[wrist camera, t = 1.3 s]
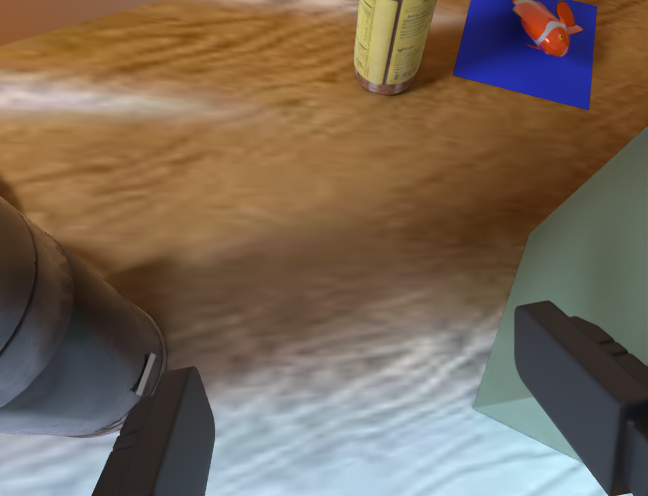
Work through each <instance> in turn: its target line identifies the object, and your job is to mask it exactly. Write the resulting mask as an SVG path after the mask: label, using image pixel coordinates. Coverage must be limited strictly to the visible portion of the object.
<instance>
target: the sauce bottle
mask: <svg viewBox="0 0 648 496" xmlns="http://www.w3.org/2000/svg"><path fill="white" fill-rule="evenodd" d="M436 1H437V0H359V6H358V18H357V29H356V40H355V50H354V66H355V73H356V76H357V79H358V81H359V82H360V84H361V85H362V86H363V88H366V89H367V90H369V91H372V92H375V93H377V94H381V95H394V94H397V93H401V92H403V91H404V90H406V89H408V88H409V87H410V85H411V84H412V82H413V80H414V78H415V76H416V72H417V71H418V69H419V66H420V62H421V58H422V54H423V51H424V47H425V43H426V39H427V36H428V32H429V28H430V24H431V21H432V17H433V13H434V9H435V5H436Z"/></svg>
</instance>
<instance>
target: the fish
mask: <svg viewBox="0 0 648 496" xmlns="http://www.w3.org/2000/svg"><path fill="white" fill-rule="evenodd" d="M510 1H511V3H512V5H513V6H512V12H513V14H514V15H515V16H516V17H517V19H518V21H519V23H520V25H521V27H522V29H523V30H524V32H525V33H526V35H527V36H528V37H529V38H530V40H531V41H532V42H533V43H534V44H529V43H525V44H523V45H522V46H523V47H526V48H529V49H533V50H537V51H540V52H544V53H545V54H546V55H549V56H552V57H555V58H563V57H565V56H566V55H567V54H568V52H569V50H570V47H571V36H574V35H577V34H579V33H582V32H584V31H585V29H584V28H583V27H582V26H580V25H578V24H576V19H575V16H574V13H573V11H572V9H571V7H570V5H569V4H568V3H567V2H566V1H565V0H558V1H557V2H556V4H555V7H554V13H553V12H551V11H550V9H549V8H548V7H547V6H546V5H545V4H543V3H542V2H541V1H539V0H510Z"/></svg>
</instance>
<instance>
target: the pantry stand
mask: <svg viewBox="0 0 648 496" xmlns="http://www.w3.org/2000/svg"><path fill="white" fill-rule="evenodd" d="M546 300H549V301H551V302H553V303H554V304H555V305H556V306H557V307H558V308H559V309H561V310H562V311H563V312H564V313H565V314H566V315H567V316H569V317H572V316H577V317H580V318H582V319H584V320H586V321H589V322H591V323H593V324H595V325H598V326H599V327H600V328H601V329H603V330H604V331H605V332H606V333H608V334H609V335H610V336H611V337H612V338H614V341H615V342H618V343H620V344H621V345H622V346H623V347H624V348H626V349H627V350H628V353H629V354H630V353H632V354H633V355H634V356H635V357H637V358H638V359H639V360H640V361H641V362H643V363H644V364H645V365H646V366H647V367H648V126H646V127H645V128H644V129H643V130H642V131H641V132H640V133H639V134H638V135H637V136H636V137H634V138H633V139H632V140H631V141H630V142H629V143H628V144H627V145H626V146H625V147H623V148H622V149H621V150H620V151H619V152H618V153H617V154H616V155H615V156H614V157H613V158H611V159H610V160H609V161H608V162H607V163H606V164H605V165H604V166H603V167H602V168H600V169H599V170H598V171H597V172H596V173H595V174H594V175H593V176H592V177H591V178H589V179H588V180H587V181H586V182H585V183H584V184H583V185H582V186H581V187H580V188H579V189H577V190H576V191H575V192H574V193H573V194H572V195H571V196H570V197H569V198H568V199H566V200H565V201H564V202H563V203H562V204H561V205H560V206H559V207H558V208H557V209H556V210H554V211H553V212H552V213H551V214H550V215H549V216H548V217H547V218H546V219H545V220H543V221H542V222H541V223H540V224H539V225H538V226H537V227H536V228H535V229H534V230H533V231H531V232H530V233H529V236H528V240H527V243H526V246H525V249H524V252H523V255H522V258H521V261H520V264H519V267H518V270H517V273H516V276H515V279H514V283H513V286H512V289H511V292H510V295H509V298H508V301H507V304H506V307H505V310H504V313H503V316H502V319H501V323H500V326H499V329H498V332H497V335H496V338H495V341H494V344H493V347H492V350H491V353H490V356H489V359H488V363H487V366H486V369H485V372H484V375H483V378H482V381H481V384H480V387H479V390H478V393H477V396H476V399H475V403H474V406H473V409H474V410H476V411H478V412H480V413H482V414H484V415H486V416H488V417H490V418H492V419H494V420H496V421H498V422H500V423H502V424H504V425H506V426H508V427H510V428H513V429H515V430H517V431H519V432H521V433H523V434H525V435H527V436H529V437H531V438H533V439H535V440H537V441H539V442H541V443H543V444H545V445H547V446H549V447H551V448H553V449H555V450H557V451H559V452H562V453H564V454H566V455H568V456H570V457H572V458H574V459H576V460H578V461H580V462H582V463H583V461H582V460H581V459H580V457H579V456H578V455H577V453H576V452H575V451H574V449H573V448H572V447H571V446H570V444H569V443H568V442H567V440H566V439H565V438H564V436H563V435H562V434H561V432H560V431H559V430H558V428H557V427H556V426H555V424H554V423H553V422H552V420H551V419H550V418H549V416H548V415H547V414H546V412H545V411H544V410H543V409H542V407H541V406H540V405H539V403H538V402H537V401H536V399H535V398H534V397H533V395H532V394H531V393H530V391H529V390H528V389H527V387H526V386H525V385H524V383H523V382H522V380H521V379H520V376H519V374H518V372H517V369H516V365H515V359H514V312H515V308H516V307H517V306H519V305H525V304H530V303H535V302H540V301H546Z"/></svg>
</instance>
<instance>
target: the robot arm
mask: <svg viewBox="0 0 648 496" xmlns="http://www.w3.org/2000/svg"><path fill="white" fill-rule="evenodd" d="M514 359H515V365H516V369H517V372H518V374H519V376H520V379H521V380H522V382H523V383H524V385H525V386H526V387H527V389H528V390H529V391H530V393H531V394H532V395H533V397H534V398H535V399H536V401H537V402H538V403H539V405H540V406H541V407H542V409H543V410H544V411H545V412H546V414H547V415H548V416H549V418H550V419H551V420H552V422H553V423H554V424H555V426H556V427H557V428H558V430H559V431H560V432H561V434H562V435H563V436H564V438H565V439H566V440H567V442H568V443H569V444H570V446H571V447H572V448H573V449H574V451H575V452H576V453H577V455H578V456H579V457H580V459H581V460H582V461H583V463H584V464H585V465H586V467H587V468H588V469H589V471H590V472H591V473H592V475H593V476H594V477H595V479H596V480H597V481H598V483H599V484H600V485H601V486H602V488H603V489H604V490H605V492H606V493H607V494H608V496H618V495H623V494H628V493H632V494H633V495H634V496H648V367H647V366H646V365H645V364H644V363H643V362H641V361H640V360H639V359H638V358H637V357H635V356H634V355H633V354H632V353H630V354H629V353H628V350H627V349H626V348H624V347H623V346H622V345H621V344H620V343H618V342H615V341H614V338H612V337H611V336H610V335H609V334H608V333H606V332H605V331H604V330H603V329H601V328H600V327H599V326H598V325H595V324H593V323H591V322H589V321H586V320H584V319H582V318H580V317H577V316H572V317H569V316H567V315H566V314H565V313H564V312H563V311H562V310H561V309H559V308H558V307H557V306H556V305H555V304H554V303H553V302H551V301H549V300H546V301H540V302H535V303H530V304H525V305H519V306H517V307H516V308H515V312H514ZM166 366H167V348H166V343H165V339H164V336H163V334H162V332H161V329H160V328H159V326H158V325H157V323H156V322H155V321H154V319H153V318H152V317H151V316H150V315H148V314H147V313H146V312H145V311H144V310H142V309H141V308H139V307H138V306H136V305H134V304H133V303H132V302H131V301H129V300H128V299H127V298H126V297H124V296H123V295H122V294H121V293H120V292H118V291H117V290H116V289H115V288H113V287H112V286H111V285H110V284H108V283H107V282H106V281H105V280H104V279H102V278H101V277H100V276H99V275H97V274H96V273H95V272H94V271H93V270H91V269H90V268H89V267H88V266H86V265H85V264H84V263H83V262H81V261H80V260H79V259H78V258H77V257H75V256H74V255H73V254H72V253H70V252H69V251H68V250H67V249H66V248H64V247H63V246H62V245H61V244H59V243H58V242H57V241H56V240H54V239H53V238H52V237H51V236H50V235H48V234H47V233H46V232H44V231H43V230H42V229H40V228H39V227H38V226H37V225H35V224H34V223H33V222H32V221H31V220H29V219H28V218H27V217H26V216H24V215H23V214H22V213H21V212H19V211H18V210H17V209H16V208H15V207H13V206H12V205H11V204H10V203H8V202H7V201H6V200H5V199H4V198H2V197H1V196H0V434H28V435H64V436H69V437H78V438H89V437H98V436H102V435H106V434H109V433H112V432H114V431H117V430H119V429H121V430H120V436H118V437H117V439H116V442H115V444H114V446H113V451H112V452H111V453H110V455H109V457H108V460H107V462H106V464H105V466H104V469H103V471H102V473H101V475H100V478H99V480H98V482H97V484H96V487H95V489H94V491H93V493H92V496H205V491H206V485H207V480H208V474H209V469H210V463H211V458H212V453H213V447H214V441H215V423H214V417H213V414H212V410H211V407H210V404H209V401H208V398H207V396H206V393H205V390H204V387H203V384H202V381H201V378H200V375H199V372H198V370H197V368H196V367H194V366H192V367H187V368H182V369H176V370H171V371H166ZM165 371H166V372H165Z"/></svg>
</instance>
